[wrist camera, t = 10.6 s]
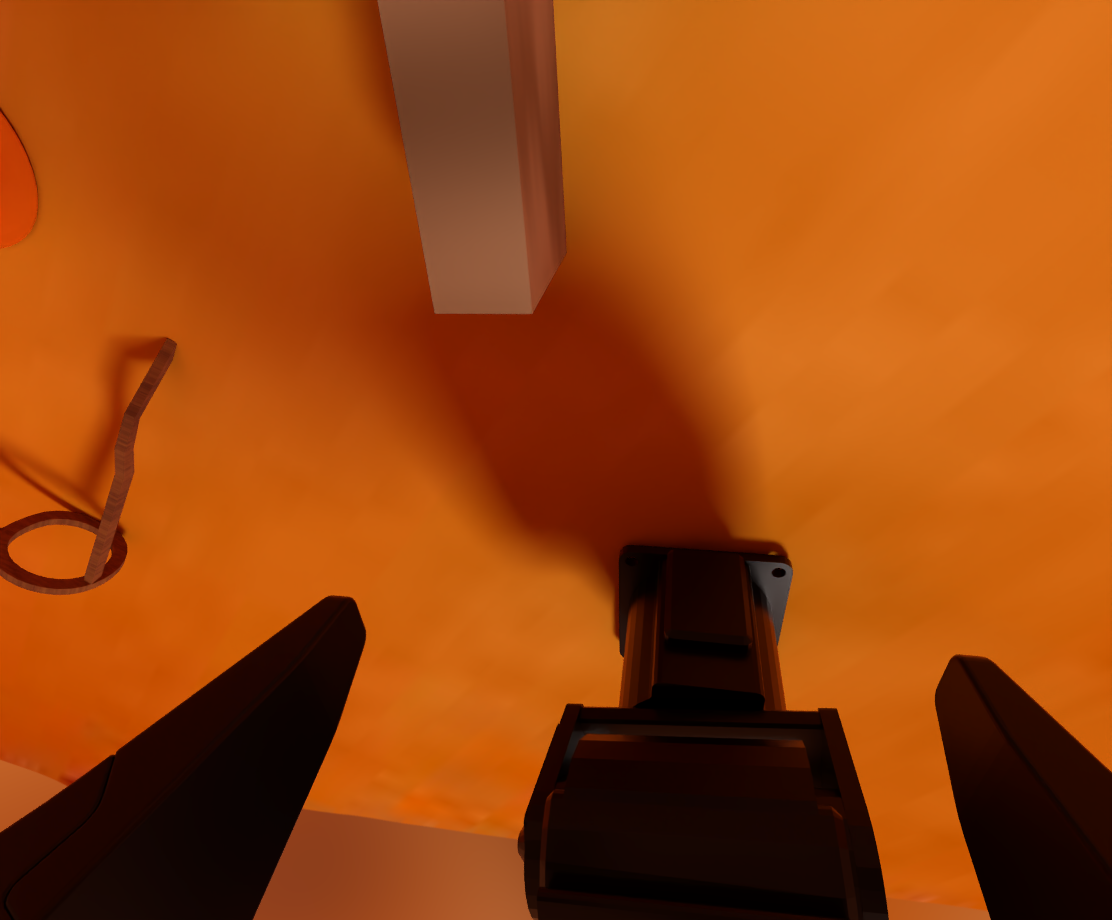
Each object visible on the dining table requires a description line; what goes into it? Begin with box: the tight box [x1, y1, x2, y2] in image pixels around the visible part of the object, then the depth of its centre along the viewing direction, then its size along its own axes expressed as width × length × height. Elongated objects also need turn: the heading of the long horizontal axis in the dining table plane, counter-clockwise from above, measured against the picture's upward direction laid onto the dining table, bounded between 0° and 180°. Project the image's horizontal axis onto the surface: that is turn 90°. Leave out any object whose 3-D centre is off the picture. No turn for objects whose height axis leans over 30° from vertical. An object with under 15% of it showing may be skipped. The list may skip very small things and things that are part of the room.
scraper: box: [377, 0, 567, 314], centre depth 14 cm, size 9×14×5 cm, turn 95°
